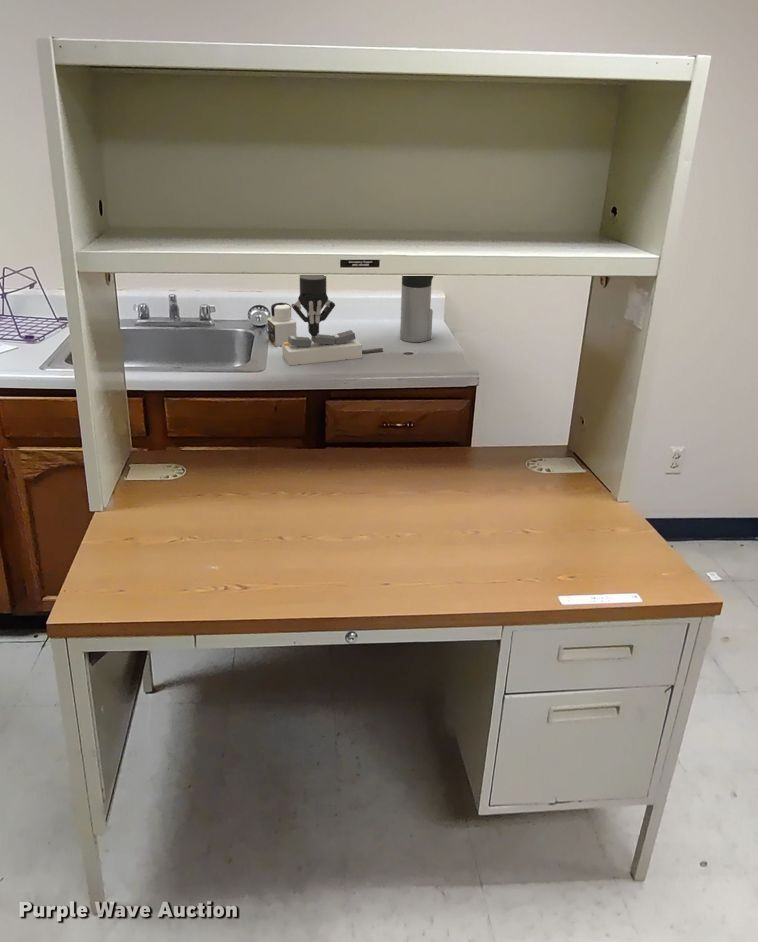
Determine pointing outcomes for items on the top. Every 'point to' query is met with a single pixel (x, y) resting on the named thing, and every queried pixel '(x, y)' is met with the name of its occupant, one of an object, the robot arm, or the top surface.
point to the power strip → (323, 352)
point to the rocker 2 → (344, 337)
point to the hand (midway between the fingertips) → (313, 335)
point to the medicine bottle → (280, 324)
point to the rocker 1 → (299, 341)
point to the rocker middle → (323, 339)
